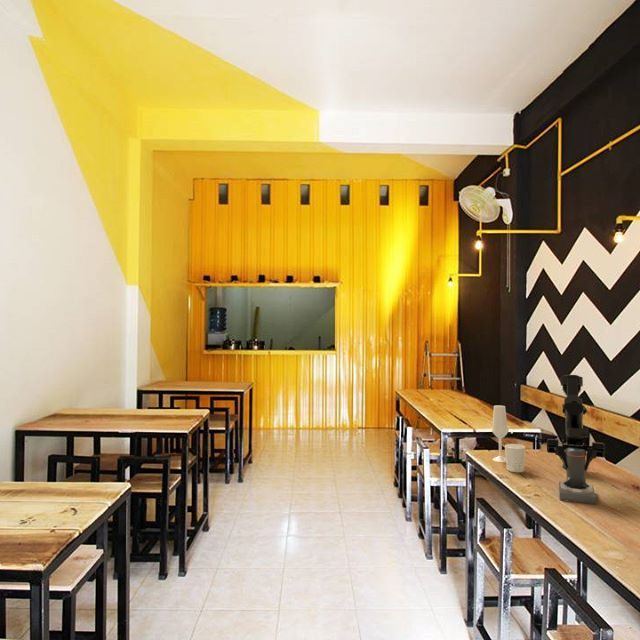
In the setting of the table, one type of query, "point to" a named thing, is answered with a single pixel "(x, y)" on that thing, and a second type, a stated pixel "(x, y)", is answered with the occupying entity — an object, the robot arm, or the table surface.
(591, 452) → the robot arm
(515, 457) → the white cup
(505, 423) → the champagne flute
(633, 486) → the table surface
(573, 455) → the lens
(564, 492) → the camera body
